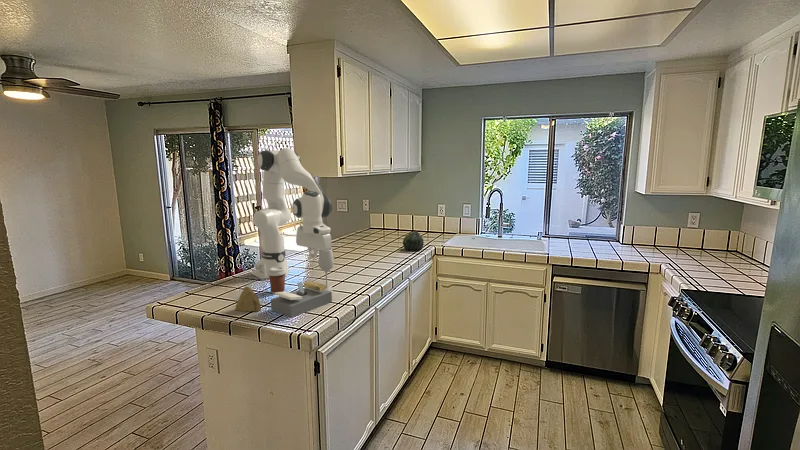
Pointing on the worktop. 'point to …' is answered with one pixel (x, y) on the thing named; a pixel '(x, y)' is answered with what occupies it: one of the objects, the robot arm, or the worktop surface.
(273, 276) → the coffee cup
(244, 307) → the rock
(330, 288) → the wineglass
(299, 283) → the paddle
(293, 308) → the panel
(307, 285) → the gold rectangular block
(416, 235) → the squash
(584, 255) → the worktop surface
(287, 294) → the white slab
